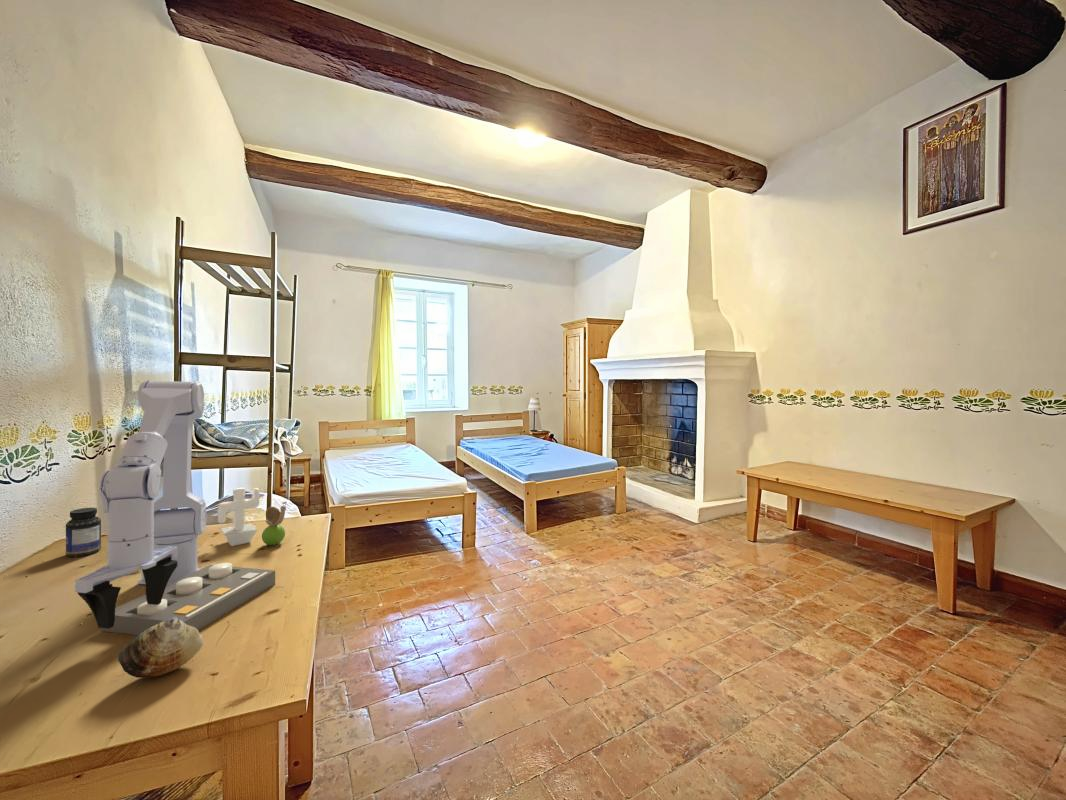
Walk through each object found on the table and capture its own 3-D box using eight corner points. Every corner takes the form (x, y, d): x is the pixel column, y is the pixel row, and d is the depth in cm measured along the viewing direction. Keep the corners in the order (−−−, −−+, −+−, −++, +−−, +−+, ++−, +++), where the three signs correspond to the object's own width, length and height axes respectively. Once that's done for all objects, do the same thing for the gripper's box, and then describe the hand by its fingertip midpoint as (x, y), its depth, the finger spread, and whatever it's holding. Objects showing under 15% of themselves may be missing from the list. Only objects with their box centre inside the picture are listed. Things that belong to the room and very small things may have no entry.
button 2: (203, 584, 88) (203, 569, 88) (220, 575, 92) (220, 562, 92) (220, 585, 87) (220, 571, 87) (236, 577, 91) (236, 563, 91)
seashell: (202, 651, 68) (202, 602, 68) (203, 670, 63) (204, 618, 63) (120, 676, 62) (120, 623, 62) (115, 698, 57) (115, 641, 57)
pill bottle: (69, 551, 107) (69, 508, 106) (103, 546, 110) (103, 505, 110) (62, 559, 102) (62, 514, 102) (97, 554, 105) (97, 511, 105)
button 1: (130, 625, 74) (130, 608, 74) (154, 613, 78) (154, 597, 78) (150, 627, 73) (150, 610, 73) (173, 615, 77) (173, 599, 77)
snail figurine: (277, 549, 111) (277, 504, 111) (256, 547, 112) (256, 502, 112) (292, 542, 116) (293, 499, 116) (273, 540, 117) (273, 497, 117)
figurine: (215, 542, 115) (215, 488, 115) (256, 534, 122) (256, 483, 121) (220, 550, 110) (220, 493, 109) (262, 541, 116) (262, 487, 116)
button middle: (170, 600, 81) (170, 585, 81) (190, 590, 85) (190, 576, 85) (188, 602, 80) (188, 586, 80) (207, 592, 84) (207, 577, 84)
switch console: (101, 630, 73) (101, 612, 73) (210, 578, 94) (210, 563, 94) (182, 640, 71) (182, 621, 71) (275, 584, 91) (275, 569, 91)
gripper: (102, 554, 64) (102, 641, 64) (191, 524, 78) (191, 596, 79) (63, 550, 65) (63, 637, 65) (159, 522, 79) (159, 593, 80)
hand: (131, 614), depth 72 cm, fingers open, 7 cm apart
